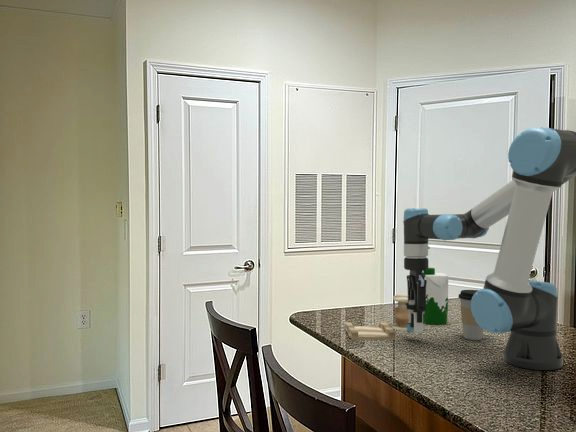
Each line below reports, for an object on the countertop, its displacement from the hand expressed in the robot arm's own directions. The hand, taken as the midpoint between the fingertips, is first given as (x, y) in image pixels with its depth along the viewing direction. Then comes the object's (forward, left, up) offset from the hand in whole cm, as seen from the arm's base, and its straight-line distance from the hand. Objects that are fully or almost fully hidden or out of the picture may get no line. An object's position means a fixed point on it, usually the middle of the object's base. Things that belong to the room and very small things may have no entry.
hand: (416, 331), depth 174 cm
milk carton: (+24, -14, -3) cm, 28 cm away
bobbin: (+17, -1, -3) cm, 17 cm away
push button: (0, 0, -1) cm, 1 cm away
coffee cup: (+4, -20, -3) cm, 20 cm away
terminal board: (+9, +13, -3) cm, 16 cm away
